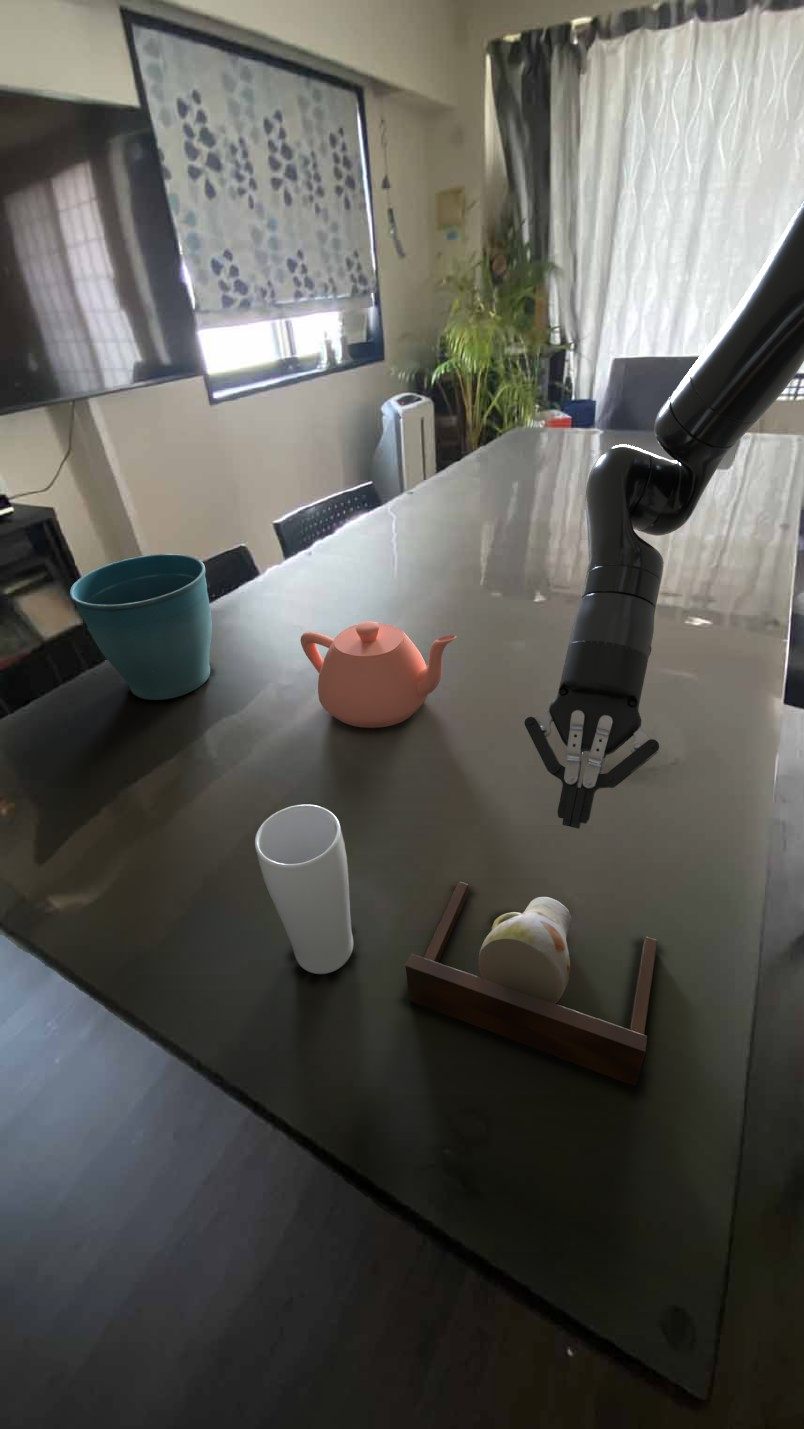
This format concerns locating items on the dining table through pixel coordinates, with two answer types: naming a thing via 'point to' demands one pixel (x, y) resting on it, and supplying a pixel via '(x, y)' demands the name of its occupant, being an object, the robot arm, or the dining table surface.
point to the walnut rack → (531, 1008)
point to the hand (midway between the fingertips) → (571, 826)
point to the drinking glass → (308, 884)
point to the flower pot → (150, 621)
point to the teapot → (373, 673)
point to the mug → (529, 950)
